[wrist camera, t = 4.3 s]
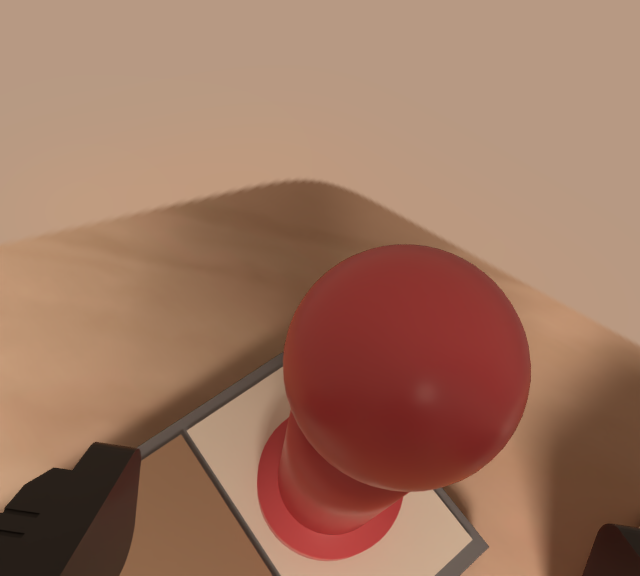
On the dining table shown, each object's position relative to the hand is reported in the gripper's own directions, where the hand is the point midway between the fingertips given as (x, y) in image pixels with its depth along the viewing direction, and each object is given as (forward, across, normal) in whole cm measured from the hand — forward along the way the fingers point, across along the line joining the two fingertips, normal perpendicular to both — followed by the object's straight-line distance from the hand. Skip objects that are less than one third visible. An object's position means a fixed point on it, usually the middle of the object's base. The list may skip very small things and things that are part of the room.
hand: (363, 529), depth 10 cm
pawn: (+7, 0, +4) cm, 8 cm away
